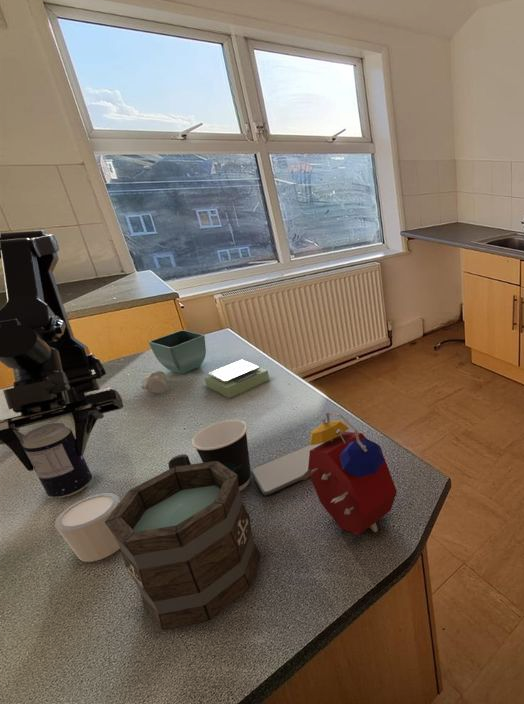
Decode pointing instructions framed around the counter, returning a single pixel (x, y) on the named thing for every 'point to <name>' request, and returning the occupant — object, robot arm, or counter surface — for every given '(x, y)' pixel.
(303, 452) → the smartphone
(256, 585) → the counter surface
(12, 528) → the counter surface
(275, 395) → the counter surface
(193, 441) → the dixie cup
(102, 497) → the white tapered cup
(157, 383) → the pale two-lobed sculpture
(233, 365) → the pan
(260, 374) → the scale
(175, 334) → the flower pot
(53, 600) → the counter surface
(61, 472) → the beverage can
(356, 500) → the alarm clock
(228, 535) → the mug
